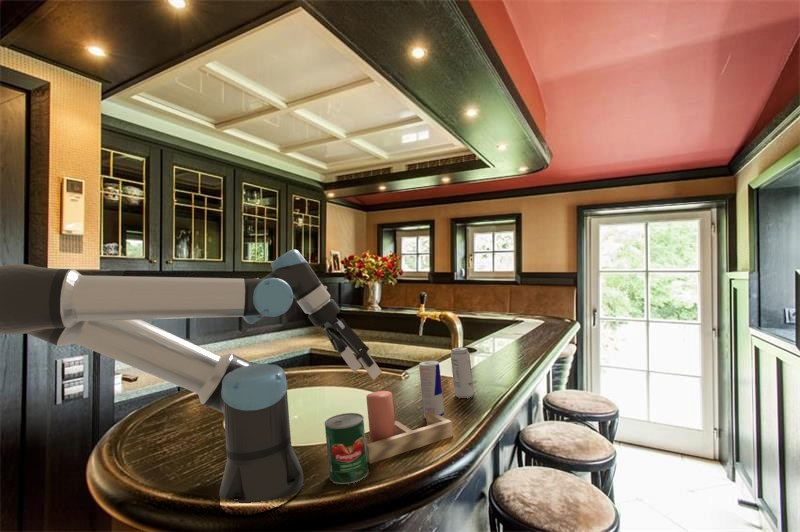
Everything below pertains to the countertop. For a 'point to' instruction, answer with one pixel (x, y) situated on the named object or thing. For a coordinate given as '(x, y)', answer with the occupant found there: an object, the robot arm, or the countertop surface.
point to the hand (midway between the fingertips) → (367, 372)
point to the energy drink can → (462, 372)
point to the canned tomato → (346, 448)
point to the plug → (380, 415)
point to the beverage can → (431, 387)
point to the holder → (409, 438)
